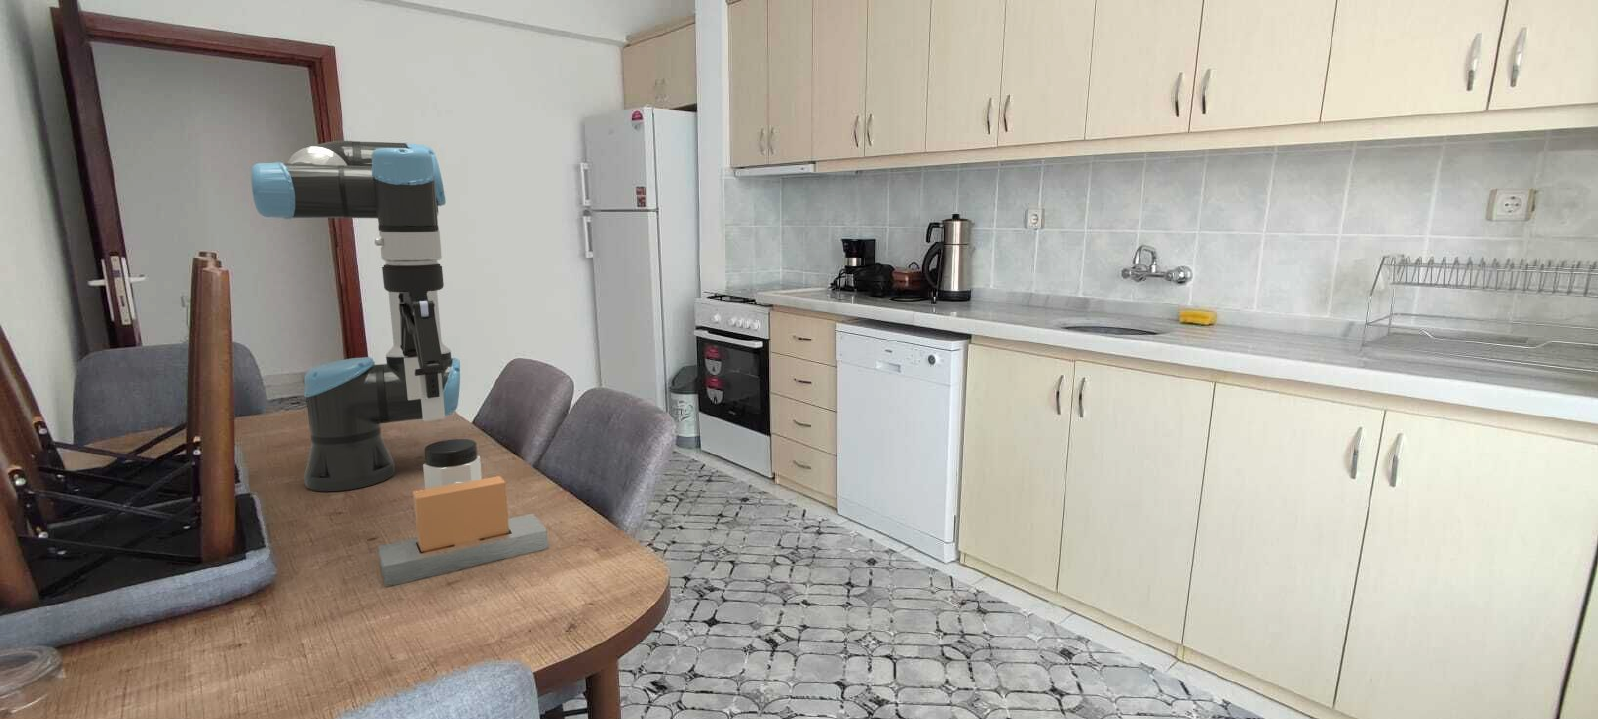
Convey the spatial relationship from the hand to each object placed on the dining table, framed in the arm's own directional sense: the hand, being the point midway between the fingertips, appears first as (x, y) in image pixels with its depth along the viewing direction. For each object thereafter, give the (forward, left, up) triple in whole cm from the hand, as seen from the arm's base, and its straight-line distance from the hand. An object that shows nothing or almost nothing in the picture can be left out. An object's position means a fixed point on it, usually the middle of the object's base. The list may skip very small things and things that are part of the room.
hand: (425, 408), depth 107 cm
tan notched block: (+3, +3, -23) cm, 23 cm away
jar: (-16, +5, -23) cm, 29 cm away
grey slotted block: (+4, +3, -23) cm, 23 cm away
